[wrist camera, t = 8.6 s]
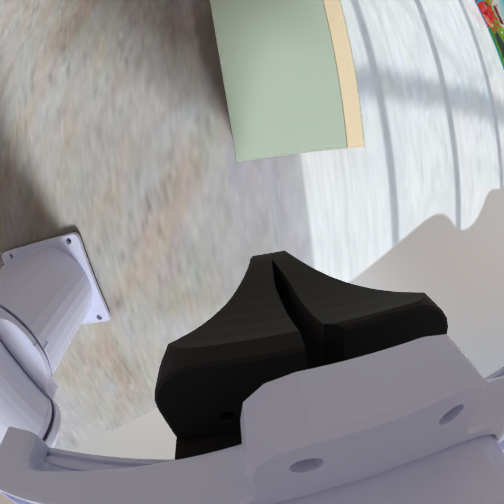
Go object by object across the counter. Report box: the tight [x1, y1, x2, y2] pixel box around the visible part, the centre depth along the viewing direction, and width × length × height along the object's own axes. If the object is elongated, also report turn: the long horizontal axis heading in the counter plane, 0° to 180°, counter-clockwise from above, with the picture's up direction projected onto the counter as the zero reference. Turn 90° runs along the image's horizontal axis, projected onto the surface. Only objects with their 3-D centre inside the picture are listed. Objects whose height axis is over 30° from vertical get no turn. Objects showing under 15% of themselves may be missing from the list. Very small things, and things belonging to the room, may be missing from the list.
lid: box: [210, 0, 365, 162], centre depth 13 cm, size 7×12×1 cm, turn 9°
